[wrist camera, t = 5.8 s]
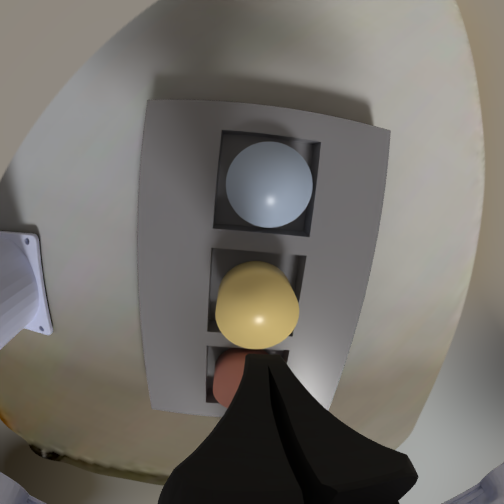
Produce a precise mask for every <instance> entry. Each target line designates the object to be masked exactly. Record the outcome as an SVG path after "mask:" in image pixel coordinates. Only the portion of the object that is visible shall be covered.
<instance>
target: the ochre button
mask: <svg viewBox="0 0 504 504" xmlns="http://www.w3.org/2000/svg"><path fill="white" fill-rule="evenodd" d="M215 316H216V322H217V325H218V327H219V329H220V331H221V333H222V334H223V335H224V336H225V337H226V338H227V339H228V340H229V341H230V342H232V343H234V344H235V345H238V346H240V347H243V348H247V349H264V348H269V347H272V346H274V345H276V344H279V343H280V342H282V341H283V340H285V339H286V338H287V337H288V336H289V335H290V334H291V333H292V331H293V330H294V328H295V326H296V324H297V322H298V318H299V304H298V301H297V298H296V296H295V294H294V291H293V289H292V287H291V285H290V283H289V281H288V279H287V277H286V276H285V274H284V273H283V272H282V271H281V270H280V269H279V268H277V267H276V266H274V265H272V264H270V263H267V262H262V261H249V262H244V263H242V264H239V265H237V266H235V267H234V268H232V269H231V270H230V271H229V272H227V274H226V275H225V276H224V277H223V279H222V281H221V283H220V286H219V290H218V297H217V304H216V311H215Z"/></svg>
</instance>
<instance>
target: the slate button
mask: <svg viewBox="0 0 504 504" xmlns="http://www.w3.org/2000/svg"><path fill="white" fill-rule="evenodd" d="M312 186H313V183H312V175H311V172H310V169H309V167H308V165H307V163H306V161H305V160H304V158H303V157H302V156H301V155H300V154H299V153H298V152H297V151H296V150H294V149H293V148H291V147H289V146H287V145H285V144H282V143H278V142H260V143H256V144H253V145H251V146H249V147H247V148H245V149H244V150H243V151H241V152H240V153H239V154H238V155H237V156H236V157H235V159H234V160H233V162H232V163H231V165H230V167H229V169H228V173H227V177H226V192H227V196H228V199H229V202H230V204H231V206H232V208H233V209H234V210H235V212H236V213H237V214H238V215H239V216H240V217H241V218H243V219H244V220H245V221H247V222H249V223H251V224H253V225H256V226H259V227H265V228H272V227H279V226H283V225H285V224H288V223H290V222H292V221H293V220H295V219H296V218H297V217H298V216H299V215H300V214H301V213H302V212H303V211H304V210H305V208H306V207H307V205H308V203H309V201H310V198H311V194H312Z"/></svg>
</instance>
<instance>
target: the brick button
mask: <svg viewBox="0 0 504 504" xmlns="http://www.w3.org/2000/svg"><path fill="white" fill-rule="evenodd" d="M247 354H268V353H266V352H265V351H264V350H262V349H246V348H230V349H228V350H226V351H225V352H223V353H222V354H221V355H220V356H219V357H218V359H217V361H216V363H215V370H214V381H213V394H214V397H215V398H216V400H217V401H218V402H219V403H220V404H221V405H222V406H224V407H226V408H228V407H229V405H230V403H231V401H232V399H233V397H234V395H235V393H236V391H237V389H238V387H239V384H240V382H241V379H242V376H243V371H244V364H245V356H246V355H247ZM268 355H269V354H268Z"/></svg>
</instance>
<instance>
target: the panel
mask: <svg viewBox="0 0 504 504" xmlns="http://www.w3.org/2000/svg"><path fill="white" fill-rule="evenodd" d="M390 132H391V131H390V130H387V129H383V128H380V127H376V126H372V125H368V124H365V123H361V122H356V121H352V120H348V119H344V118H339V117H334V116H330V115H325V114H319V113H314V112H309V111H303V110H297V109H290V108H283V107H276V106H269V105H260V104H251V103H240V102H228V101H211V100H148V101H147V108H146V116H145V124H144V132H143V142H142V152H141V164H140V178H139V196H138V235H137V247H138V286H139V305H140V319H141V331H142V341H143V351H144V359H145V367H146V375H147V382H148V388H149V395H150V401H151V407H152V409H156V410H162V411H169V412H176V413H184V414H192V415H202V416H214V417H223V415H224V414H225V412H226V410H227V409H228V408H226V407H224V406H222V405H221V404H220V403H219V402H218V401H217V400H216V398H215V397H214V394H213V381H214V370H215V363H216V361H217V359H218V357H219V356H220V355H221V354H222V353H223V352H225V351H226V350H228V349H230V348H243V347H240V346H238V345H235V344H234V343H232V342H230V341H229V340H228V339H227V338H226V337H225V336H224V335H223V334H222V333H221V331H220V329H219V327H218V325H217V322H216V316H215V311H216V304H217V297H218V290H219V286H220V283H221V281H222V279H223V277H224V276H225V275H226V274H227V272H229V271H230V270H231V269H232V268H234V267H235V266H237V265H239V264H242V263H244V262H249V261H262V262H267V263H270V264H272V265H274V266H276V267H277V268H279V269H280V270H281V271H282V272H283V273H284V274H285V276H286V277H287V279H288V281H289V283H290V285H291V287H292V289H293V291H294V294H295V296H296V298H297V301H298V304H299V318H298V322H297V324H296V326H295V328H294V330H293V331H292V333H291V334H290V335H289V336H288V337H287V338H286V339H285V340H283V341H282V342H280V343H279V344H276V345H274V346H272V347H269V348H264V349H262V350H264V351H265V352H266V353H268V354H269V355H280V356H281V357H282V358H283V359H284V361H285V362H286V364H287V365H288V367H289V368H290V369H291V371H292V372H293V373H294V375H295V376H296V377H297V378H298V380H299V381H300V382H301V383H302V385H303V386H304V387H305V388H306V389H307V390H308V392H309V393H310V394H311V395H312V396H313V397H314V398H315V399H316V400H317V401H318V402H319V403H320V404H321V405H322V406H323V407H324V408H325V409H326V410H329V407H330V405H331V402H332V399H333V397H334V394H335V391H336V389H337V386H338V383H339V380H340V377H341V374H342V371H343V369H344V366H345V362H346V359H347V356H348V353H349V350H350V347H351V344H352V340H353V337H354V333H355V330H356V327H357V323H358V319H359V316H360V312H361V308H362V304H363V301H364V297H365V293H366V288H367V284H368V280H369V276H370V271H371V266H372V262H373V257H374V252H375V247H376V242H377V236H378V231H379V225H380V219H381V213H382V206H383V199H384V192H385V184H386V176H387V167H388V157H389V145H390ZM260 142H278V143H282V144H285V145H287V146H289V147H291V148H293V149H294V150H296V151H297V152H298V153H299V154H300V155H301V156H302V157H303V158H304V160H305V161H306V163H307V165H308V167H309V169H310V172H311V175H312V183H313V186H312V194H311V198H310V201H309V203H308V205H307V207H306V208H305V210H304V211H303V212H302V213H301V214H300V215H299V216H298V217H297V218H296V219H295V220H293V221H292V222H290V223H288V224H285V225H283V226H279V227H272V228H265V227H259V226H256V225H253V224H251V223H249V222H247V221H245V220H244V219H243V218H241V217H240V216H239V215H238V214H237V213H236V212H235V210H234V209H233V208H232V206H231V204H230V202H229V199H228V196H227V192H226V177H227V173H228V169H229V167H230V165H231V163H232V162H233V160H234V159H235V157H236V156H237V155H238V154H239V153H240V152H241V151H243V150H244V149H245V148H247V147H249V146H251V145H253V144H256V143H260ZM246 349H247V348H246Z"/></svg>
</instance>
